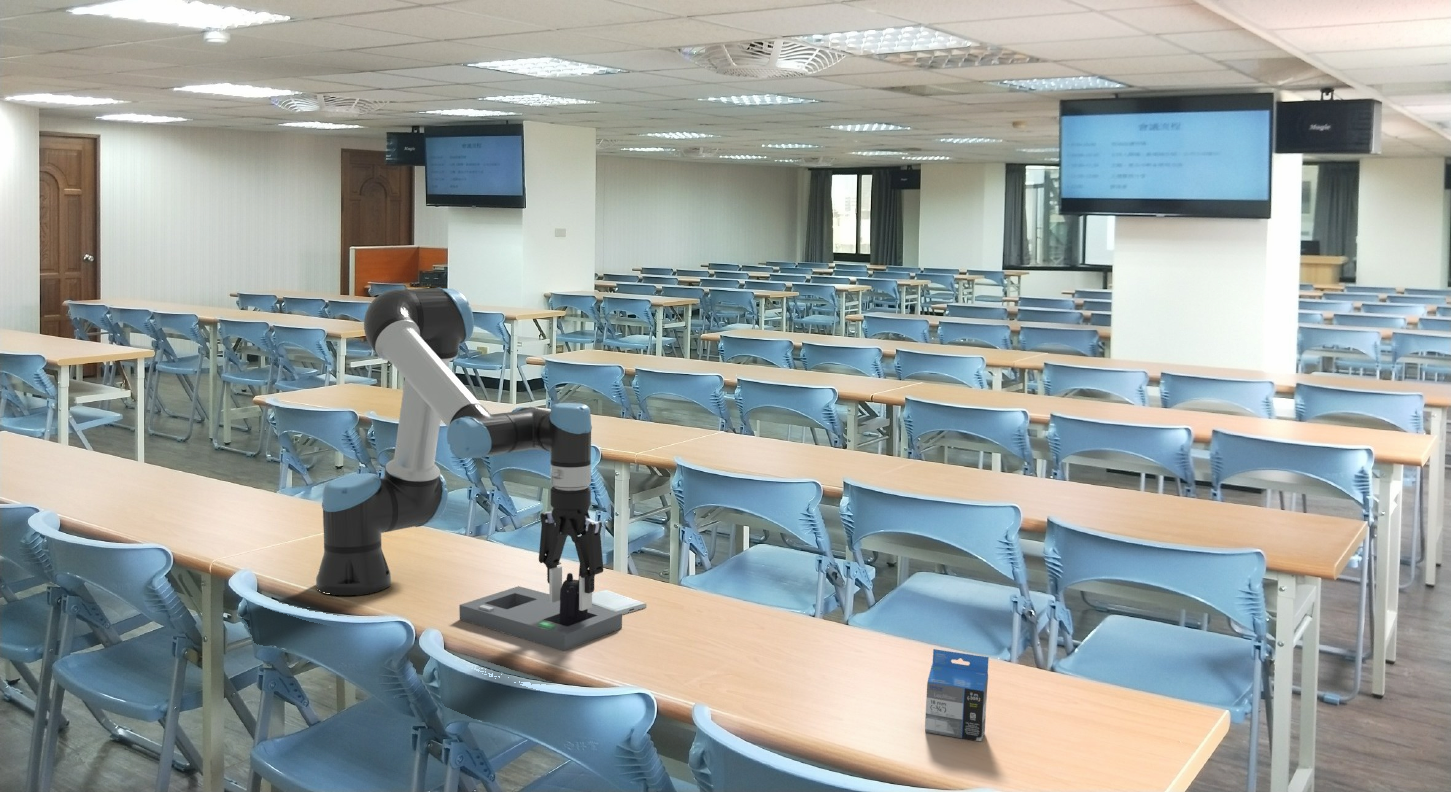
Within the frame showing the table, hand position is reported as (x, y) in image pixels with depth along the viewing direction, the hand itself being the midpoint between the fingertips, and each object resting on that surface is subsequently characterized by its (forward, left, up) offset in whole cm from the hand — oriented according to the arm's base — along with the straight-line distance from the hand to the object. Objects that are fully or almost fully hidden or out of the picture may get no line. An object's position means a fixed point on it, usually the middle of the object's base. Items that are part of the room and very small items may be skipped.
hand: (570, 604), depth 228 cm
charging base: (-8, 0, -6) cm, 10 cm away
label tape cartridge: (+78, +3, -6) cm, 78 cm away
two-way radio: (0, 0, -6) cm, 6 cm away
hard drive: (-5, +18, -6) cm, 20 cm away
